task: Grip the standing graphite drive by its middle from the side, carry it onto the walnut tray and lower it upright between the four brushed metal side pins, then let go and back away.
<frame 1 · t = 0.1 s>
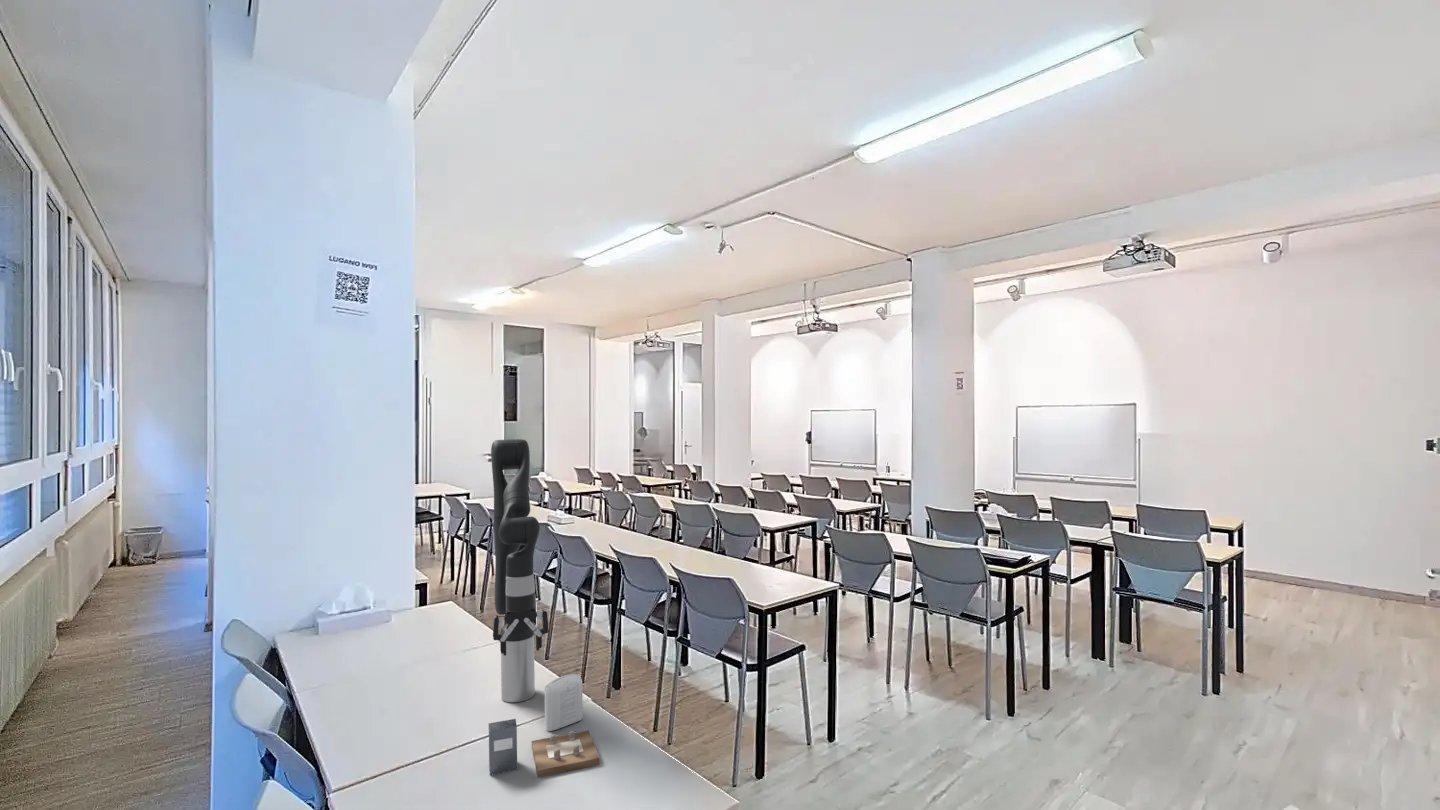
hand: (521, 652, 177), 17 cm above the table, tool pointing down, fingers open, 8 cm apart
pin tray: (564, 755, 157), on the table
photo printer: (564, 724, 173), on the table
graphite drive: (503, 768, 152), on the table
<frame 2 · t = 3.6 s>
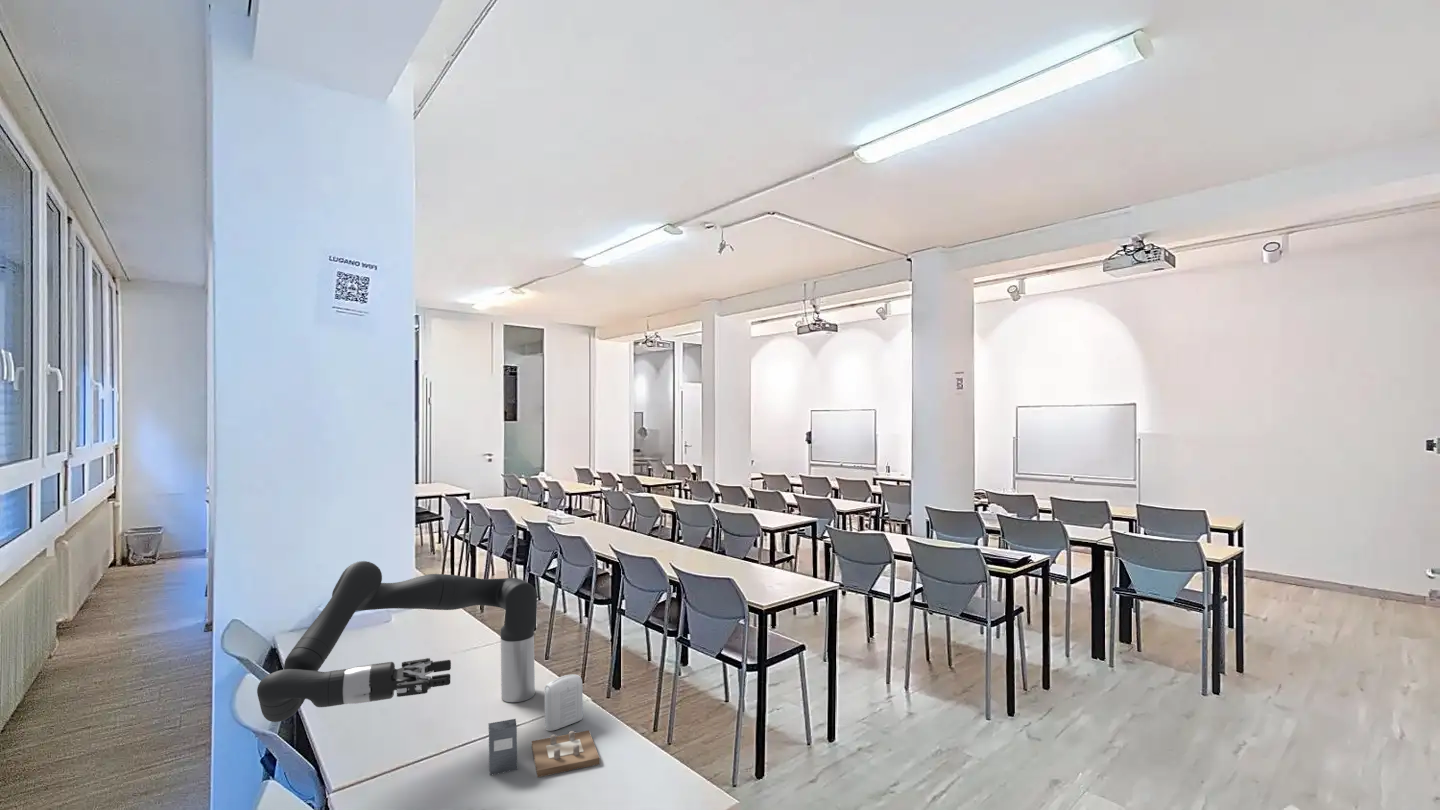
hand: (450, 671, 148), 24 cm above the table, tool horizontal, fingers open, 8 cm apart
nothing on the table moved.
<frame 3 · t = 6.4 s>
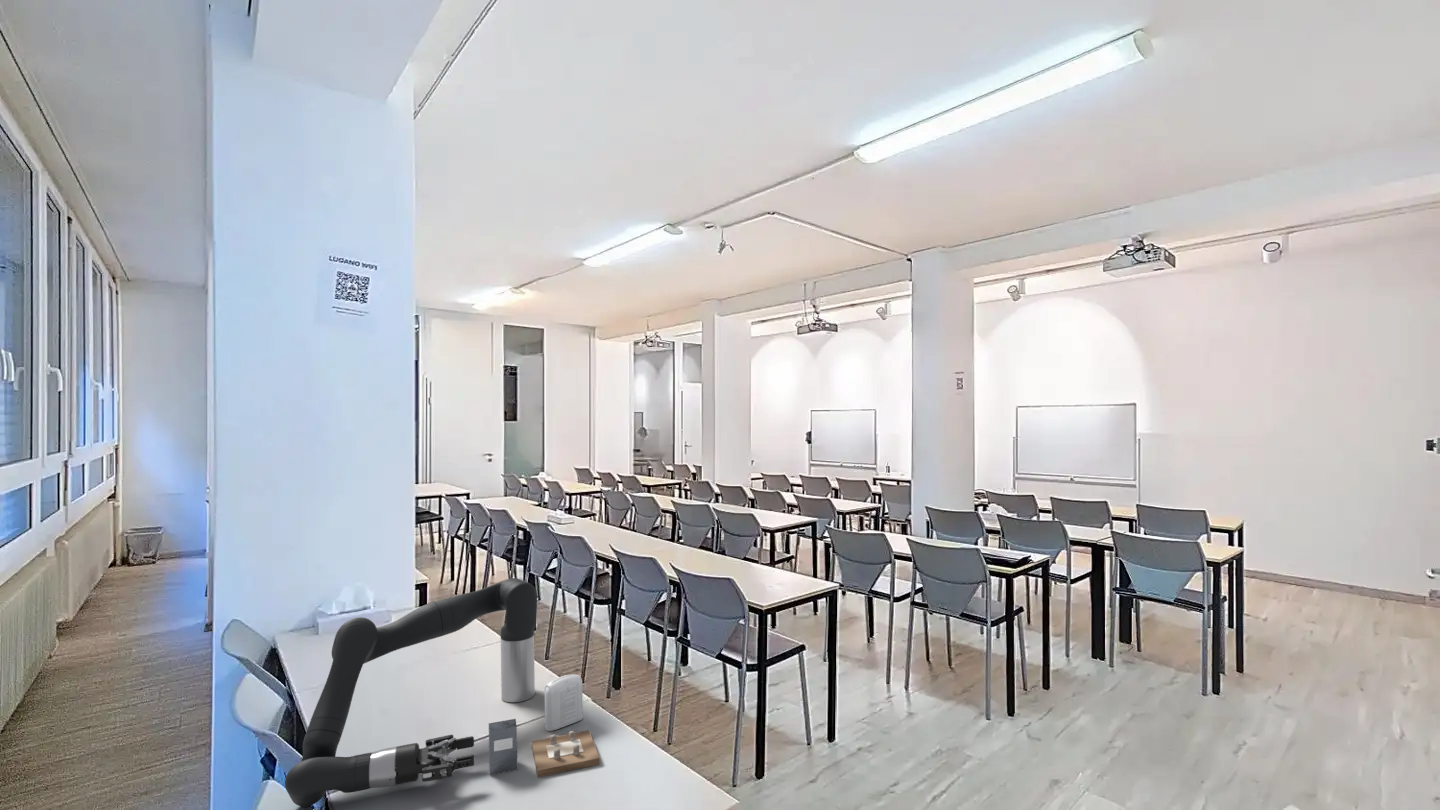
hand: (474, 750, 149), 6 cm above the table, tool horizontal, fingers open, 8 cm apart
nothing on the table moved.
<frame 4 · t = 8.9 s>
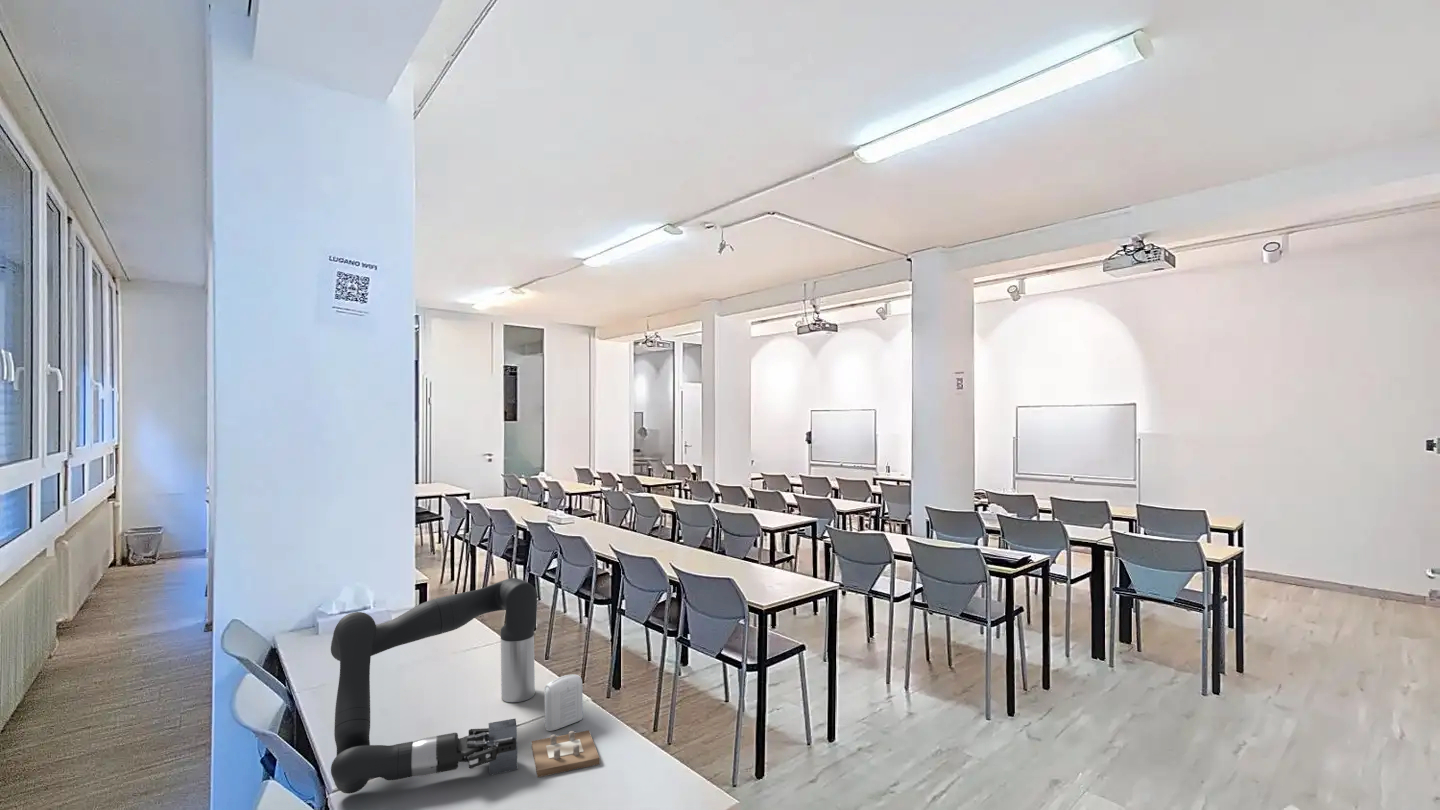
hand: (515, 739, 153), 6 cm above the table, tool horizontal, fingers closed on graphite drive, 4 cm apart
graphite drive: (503, 767, 152), on the table, touching gripper
everything else where it was.
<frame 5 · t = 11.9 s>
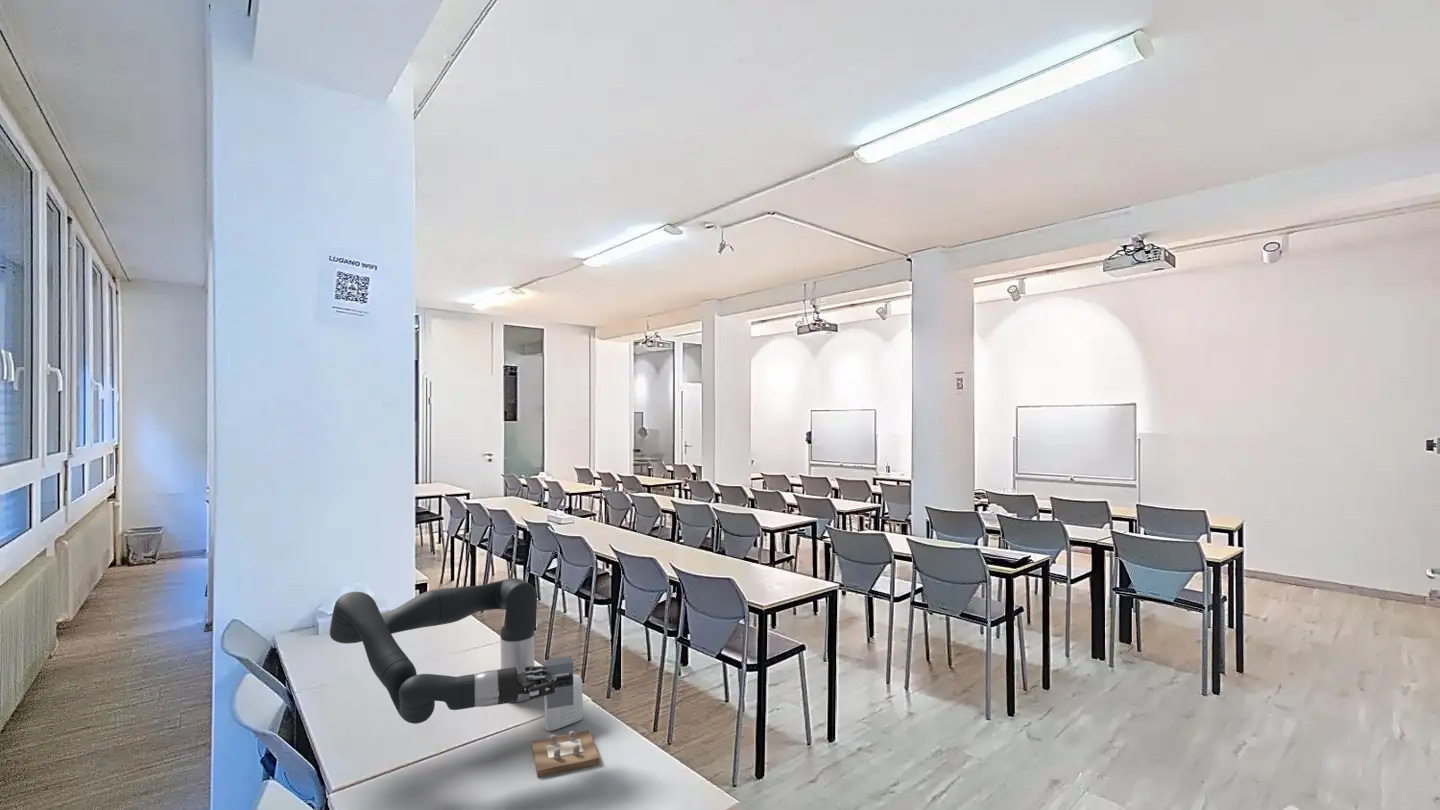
hand: (570, 676, 157), 19 cm above the table, tool horizontal, fingers closed on graphite drive, 4 cm apart
graphite drive: (559, 703, 156), point 13 cm above the table, touching gripper
everything else where it was.
when the fingers open (9 cm above the table, at t = 14.8 s): graphite drive stays where it is, resting on pin tray.
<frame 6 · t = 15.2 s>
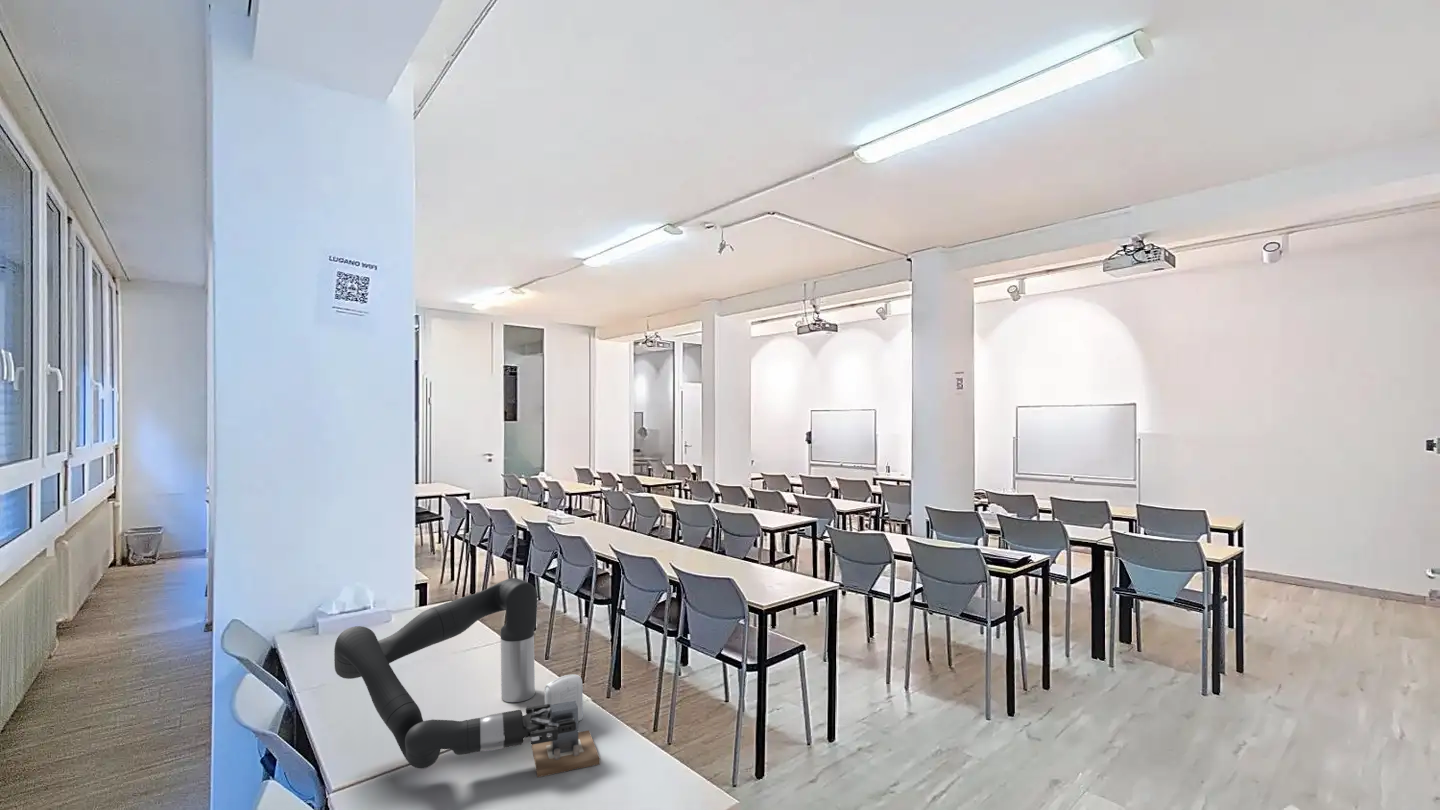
hand: (573, 717, 158), 9 cm above the table, tool horizontal, fingers open, 7 cm apart
graphite drive: (564, 748, 157), point 2 cm above the table, touching pin tray
everything else where it was.
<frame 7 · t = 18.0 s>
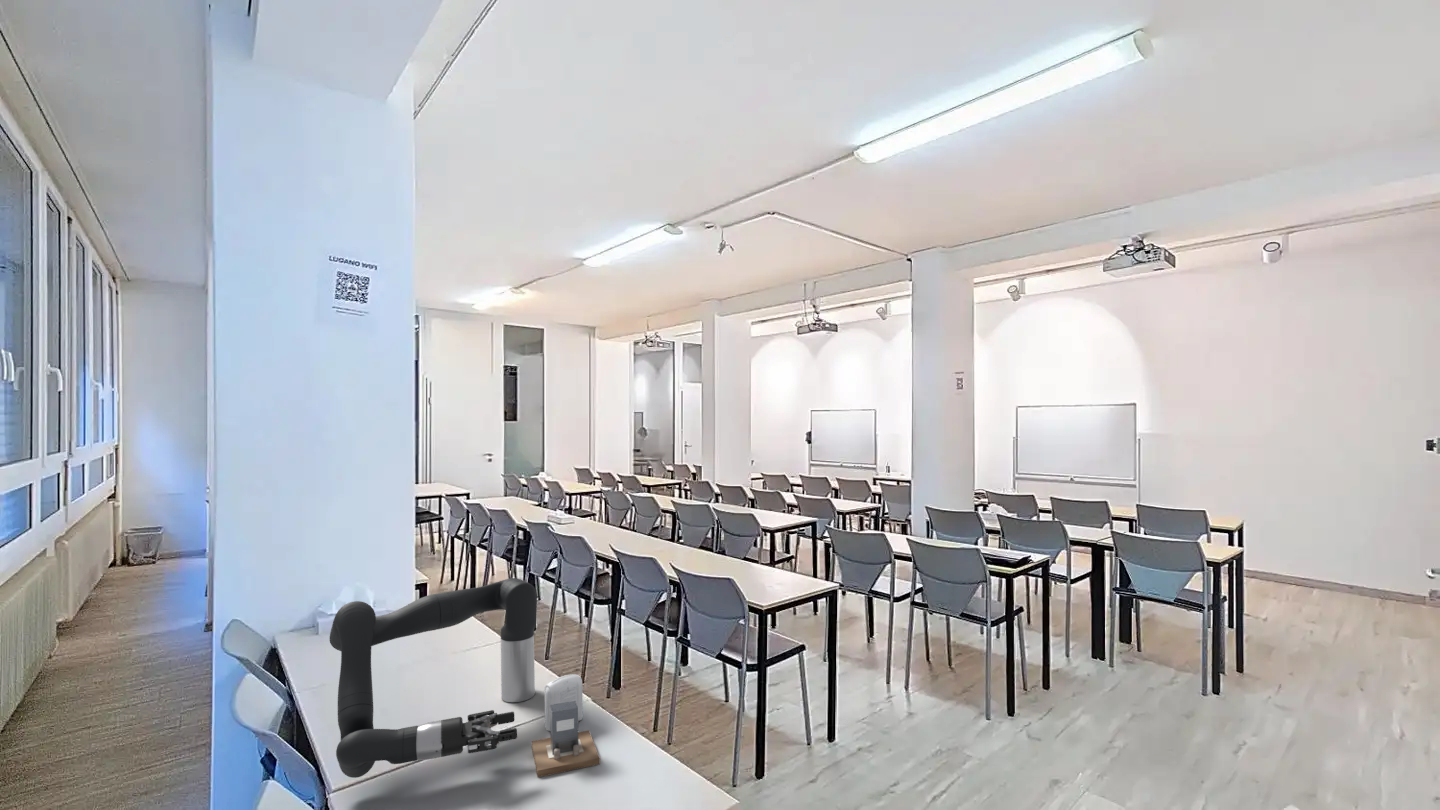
hand: (515, 724, 153), 9 cm above the table, tool horizontal, fingers open, 8 cm apart
nothing on the table moved.
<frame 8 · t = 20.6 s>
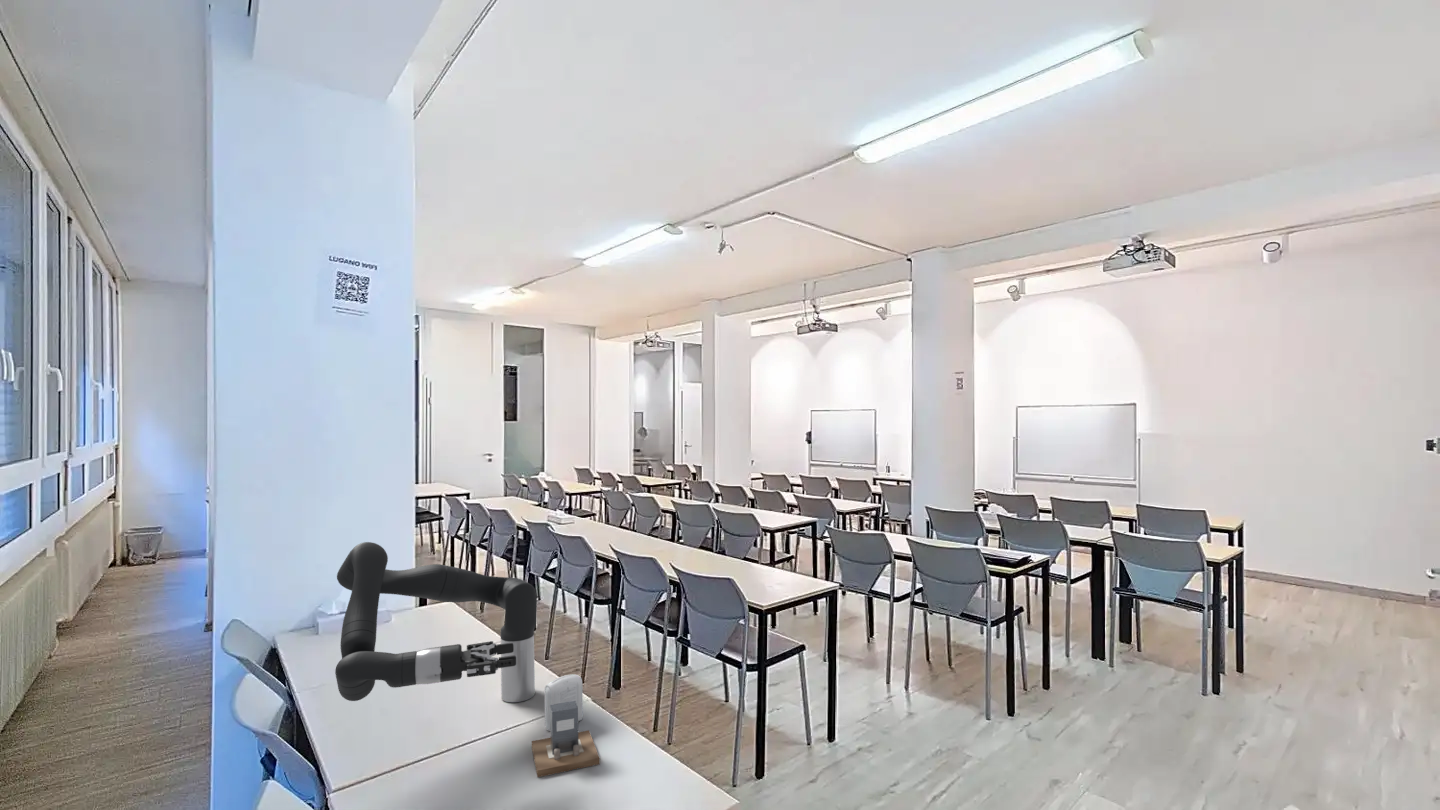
hand: (514, 653, 153), 26 cm above the table, tool horizontal, fingers open, 8 cm apart
nothing on the table moved.
at the end: graphite drive 0.2 cm off-centre on the pin tray, point 1.7 cm above the pin tray's base; graphite drive tilted 0°; the gripper is holding nothing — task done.
